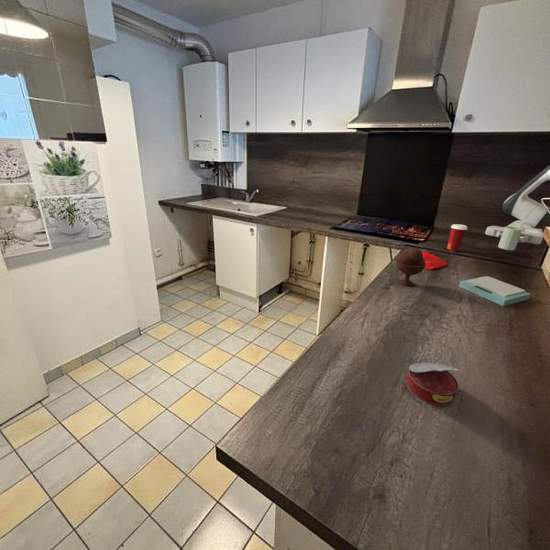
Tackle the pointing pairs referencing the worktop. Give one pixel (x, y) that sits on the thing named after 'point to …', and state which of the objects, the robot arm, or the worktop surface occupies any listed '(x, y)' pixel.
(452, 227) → the paper cup
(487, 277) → the scale
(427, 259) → the cloth
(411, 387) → the canned food
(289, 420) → the worktop surface
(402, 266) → the ice cream bowl
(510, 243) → the cup
